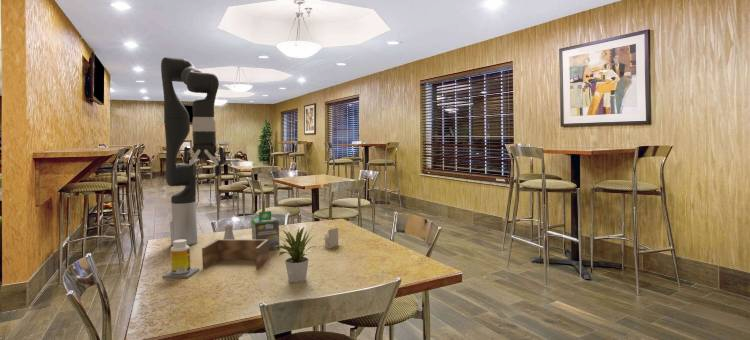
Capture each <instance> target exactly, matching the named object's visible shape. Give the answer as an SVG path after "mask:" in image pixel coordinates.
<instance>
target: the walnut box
mask: <svg viewBox="0 0 750 340" xmlns="http://www.w3.org/2000/svg"><path fill="white" fill-rule="evenodd" d="M201 257H202V258H201V259H202V270H204V269H205V270H206V269H208V268H209V267H211V266H212V265H213V264H214V263H216V262H217V261H219V260H255V269H256V270H259V269H261V268H262V267H263V266H264V265H265V264H266V263H267V262H268V261H269V260H270V251H269V240H252V239H235V240H223V239H215V240H214V241H212V242H210V243H208V244H207V245H205V246H203V247H202V248H201Z"/></svg>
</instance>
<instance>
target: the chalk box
mask: <svg viewBox="0 0 750 340" xmlns="http://www.w3.org/2000/svg"><path fill="white" fill-rule="evenodd" d="M264 215H267V216H266V217H263V216H264ZM250 224H251V237H252V239H251V240H269V252H270V251H277V250H278V249H280V250H281V248H280V247H274V246H277V245H280V239H279V238H280V230H279V229H280V220H279V219H278V218H275V217H274V216H272V211H271V210H267V211H259V213H258V218H251V221H250ZM278 236H279V237H278Z"/></svg>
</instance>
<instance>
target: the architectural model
mask: <svg viewBox="0 0 750 340" xmlns="http://www.w3.org/2000/svg"><path fill="white" fill-rule="evenodd" d="M339 238H340V235H339V226H337V227H334V228H333V227H330V228H329V229H328V231H327V234H324V237H322V240H324V247H325V248H326V249H330V248H335V247H336V246H337V247H338V246H339Z"/></svg>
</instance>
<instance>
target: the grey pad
mask: <svg viewBox="0 0 750 340" xmlns="http://www.w3.org/2000/svg"><path fill="white" fill-rule="evenodd" d="M199 271H200V268H199V267H198V268H197V267H196V268H193V267H192V268H191V267H190V271H189V272H187V273H184V274H173V273H172V270H170V271H169V272H167V273H166V274H164V275H163V276H162V279H189V278H191V277H192V276H193V275H195V274H196V273H198V272H199Z"/></svg>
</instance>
